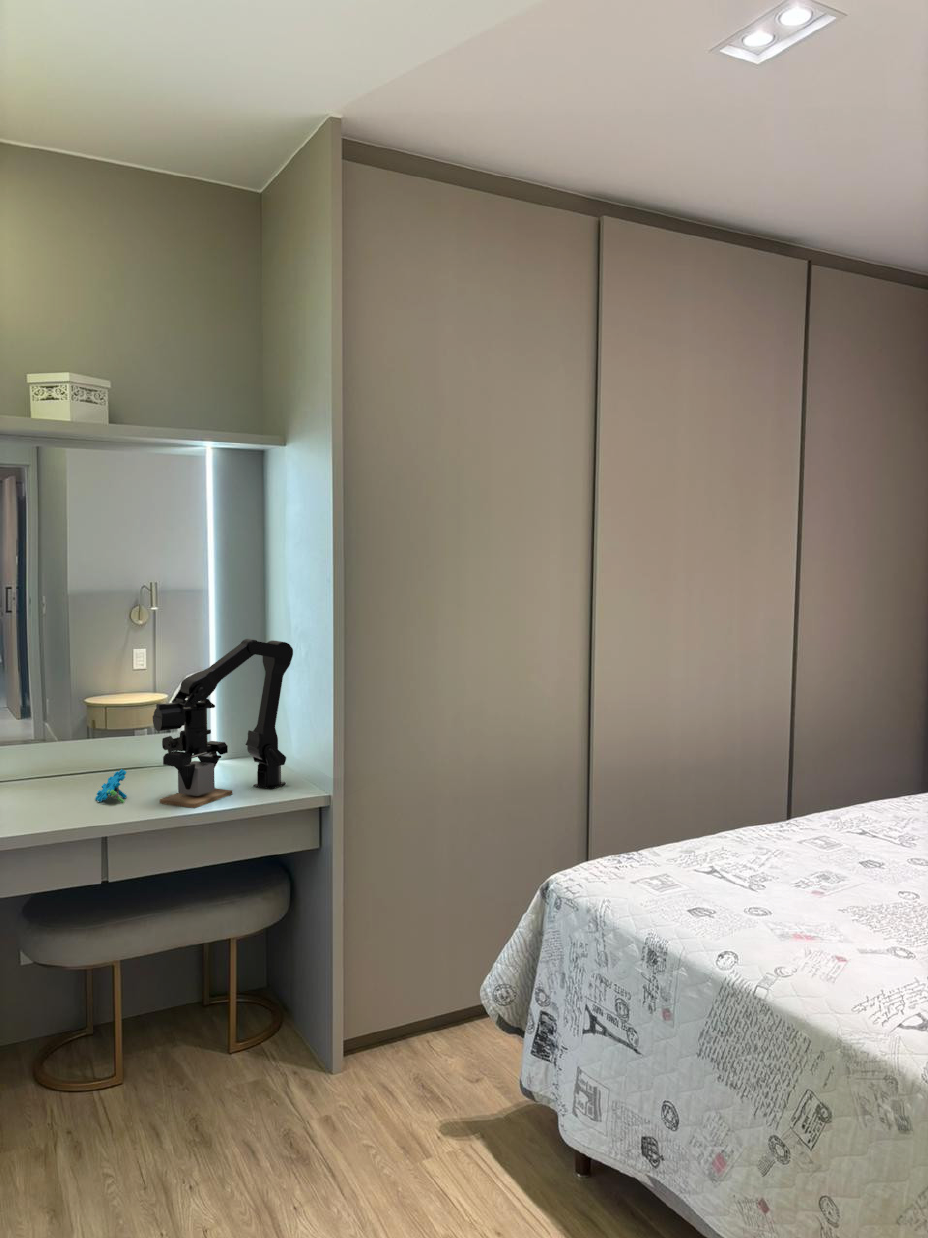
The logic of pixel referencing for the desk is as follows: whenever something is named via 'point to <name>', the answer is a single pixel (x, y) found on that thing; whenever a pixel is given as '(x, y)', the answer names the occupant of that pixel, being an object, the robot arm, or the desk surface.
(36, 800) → the desk surface
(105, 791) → the blue lumpy piece
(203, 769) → the grey cube with hole
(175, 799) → the board
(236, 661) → the robot arm
